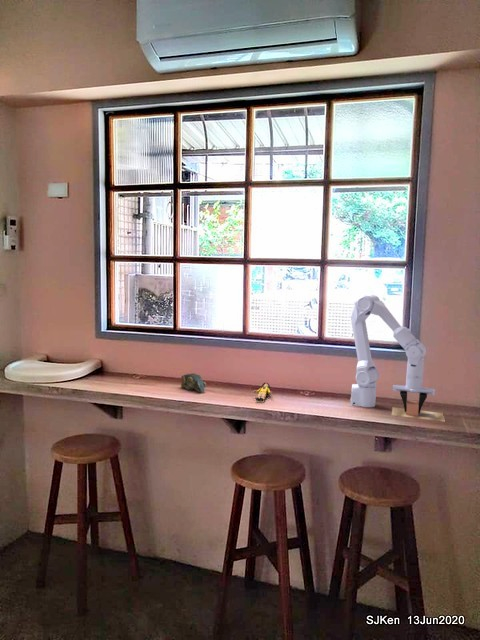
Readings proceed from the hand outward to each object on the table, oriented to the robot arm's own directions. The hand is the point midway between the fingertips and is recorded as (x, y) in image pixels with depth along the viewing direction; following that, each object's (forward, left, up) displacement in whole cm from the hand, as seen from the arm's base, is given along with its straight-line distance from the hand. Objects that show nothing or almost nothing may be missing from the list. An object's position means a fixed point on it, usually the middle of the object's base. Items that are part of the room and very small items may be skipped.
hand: (412, 411), depth 174 cm
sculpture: (-89, 0, -2) cm, 89 cm away
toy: (-58, +1, -2) cm, 58 cm away
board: (+2, 0, -2) cm, 3 cm away
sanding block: (0, 0, 0) cm, 0 cm away
